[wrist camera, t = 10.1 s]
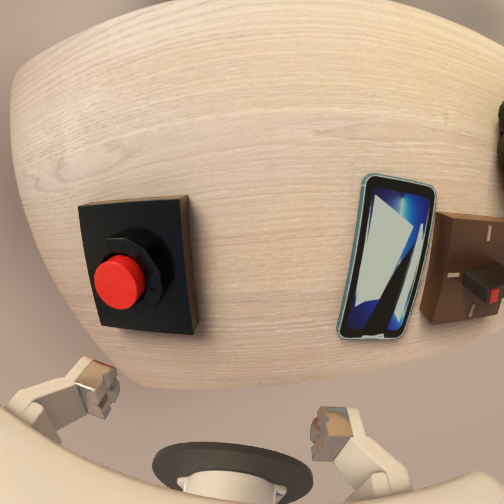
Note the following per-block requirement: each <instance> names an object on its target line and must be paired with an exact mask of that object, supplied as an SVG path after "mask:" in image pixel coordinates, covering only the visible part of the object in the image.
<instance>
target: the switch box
mask: <svg viewBox="0 0 504 504" xmlns="http://www.w3.org/2000/svg"><path fill="white" fill-rule="evenodd" d="M78 212H79V220H80V228H81V235H82V241H83V247H84V253H85V258H86V264H87V269H88V274H89V278H90V283H91V287H92V291H93V296H94V300H95V304H96V307H97V311H98V315H99V319H100V322H101V325H102V326H109V327H116V328H124V329H132V330H141V331H150V332H160V333H171V334H184V335H194V333H195V331H196V328H197V326H198V324H199V319H198V311H197V302H196V293H195V284H194V273H193V263H192V251H191V239H190V225H189V210H188V195H181V196H163V197H148V198H134V199H122V200H111V201H100V202H91V203H87V204H84V205H81V206H78ZM116 255H124V256H127V257H130V258H131V259H133V260H134V261H135V262H137V264H138V265H139V266H140V267H141V269H142V271H143V273H144V276H145V290H144V292H143V294H142V295H141V296H140V297H139V299H138V300H137V301H136V302H135V303H134V304H133V305H132V306H131V307H129V308H127V309H116V308H113V307H111V306H109V305H108V304H106V303H105V302H104V301H103V300H102V299H101V297H100V296H99V294H98V292H97V290H96V288H95V283H94V276H95V272H96V270H97V268H98V267H99V266H100V265H101V264H102V263H104V262H105V261H107V260H108V259H110V258H111V257H113V256H116Z"/></svg>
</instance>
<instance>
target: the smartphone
mask: <svg viewBox="0 0 504 504" xmlns="http://www.w3.org/2000/svg"><path fill="white" fill-rule="evenodd" d="M436 198H437V196H436V191H435V189H434V188H433V187H432V186H431V185H428V184H424V183H420V182H415V181H411V180H406V179H401V178H397V177H392V176H387V175H381V174H374V173H372V174H368V175H366V176H365V177H364V179H363V181H362V184H361V193H360V201H359V209H358V216H357V223H356V230H355V237H354V243H353V249H352V255H351V260H350V266H349V271H348V276H347V281H346V286H345V291H344V296H343V301H342V305H341V310H340V314H339V318H338V322H337V327H336V329H337V332H338V335H339V336H340V337H341V338H342V339H355V340H392V339H397V338H399V337H401V336H402V335H403V334H404V332H405V330H406V327H407V324H408V321H409V318H410V315H411V312H412V308H413V305H414V302H415V298H416V295H417V291H418V288H419V284H420V280H421V276H422V272H423V268H424V264H425V260H426V255H427V251H428V246H429V241H430V236H431V231H432V225H433V219H434V213H435V206H436Z"/></svg>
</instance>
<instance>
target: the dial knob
mask: <svg viewBox="0 0 504 504" xmlns="http://www.w3.org/2000/svg"><path fill="white" fill-rule="evenodd" d="M463 286H464V287H465V288H467V289H468V290H469V291H471V292H472V293H473V294H474V295H476V296H477V297H478V298H479V299H480V300H482V301H483V302H484V303H485V304H491V303H494V302H496V301H497V300H499V299H501V298H504V265H502V264H500V263H499V262H497V263H493V264H490V265H487V266H484V267H481V268H477V269H474V270H471V271H467V272H465V273H464V282H463Z"/></svg>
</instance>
